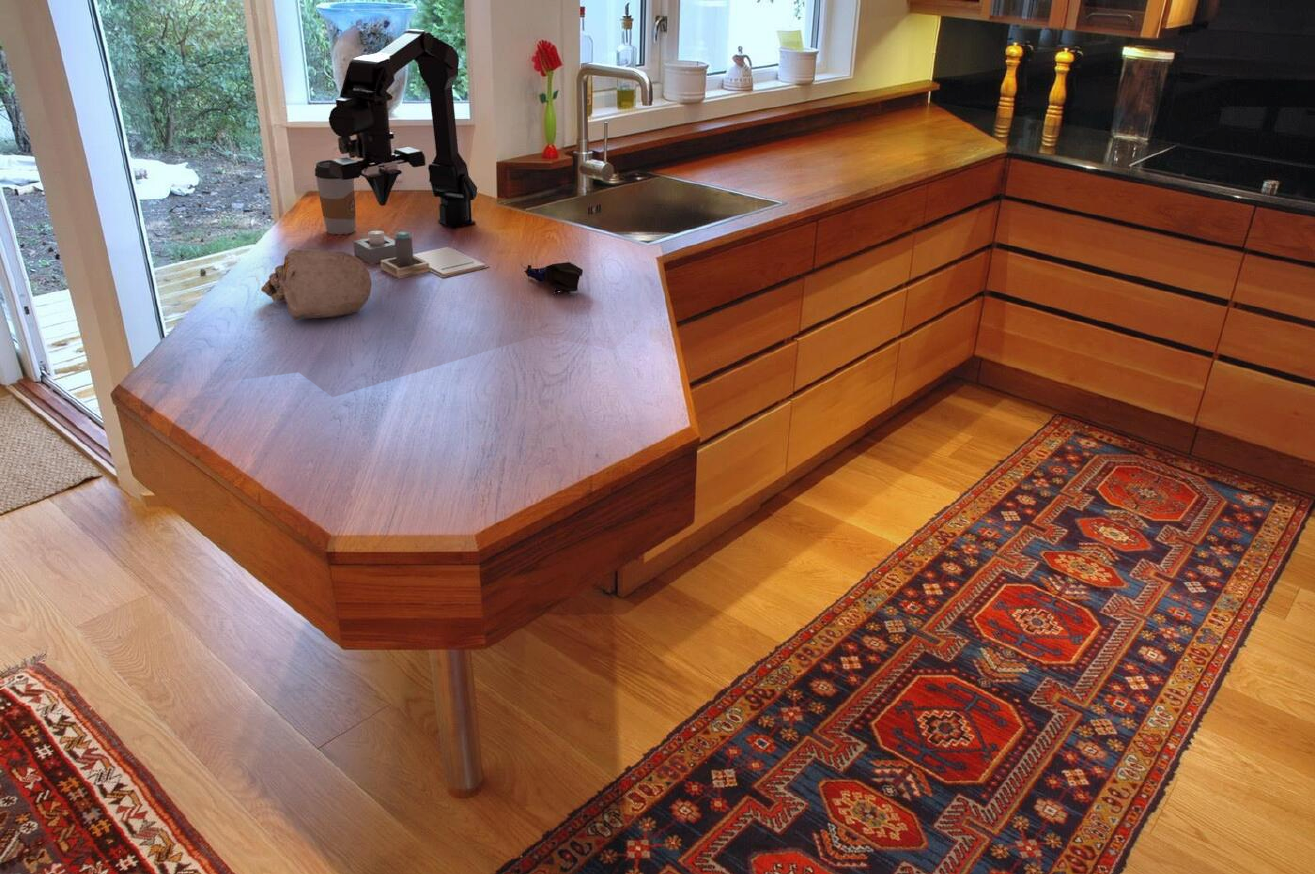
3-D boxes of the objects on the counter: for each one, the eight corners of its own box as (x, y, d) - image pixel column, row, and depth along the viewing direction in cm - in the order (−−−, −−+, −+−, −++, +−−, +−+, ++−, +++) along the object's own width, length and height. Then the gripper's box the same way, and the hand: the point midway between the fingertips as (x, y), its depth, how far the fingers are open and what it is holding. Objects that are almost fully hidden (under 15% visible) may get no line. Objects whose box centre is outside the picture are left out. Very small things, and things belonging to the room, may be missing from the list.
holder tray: (411, 262, 209) (410, 254, 209) (429, 271, 205) (429, 263, 204) (381, 269, 205) (380, 260, 204) (399, 278, 201) (398, 269, 200)
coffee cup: (349, 238, 222) (342, 170, 214) (314, 234, 223) (306, 166, 216) (366, 227, 229) (360, 161, 221) (332, 223, 230) (325, 157, 223)
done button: (380, 243, 213) (379, 229, 212) (388, 247, 211) (386, 233, 210) (366, 246, 211) (365, 232, 210) (374, 250, 209) (372, 236, 208)
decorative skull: (254, 241, 185) (273, 252, 168) (351, 240, 193) (378, 251, 177) (259, 308, 188) (277, 326, 172) (354, 305, 197) (380, 322, 180)
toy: (553, 265, 207) (595, 266, 196) (549, 296, 208) (590, 298, 196) (515, 257, 201) (555, 257, 190) (511, 289, 202) (550, 291, 190)
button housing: (384, 248, 216) (383, 235, 215) (401, 257, 212) (400, 243, 210) (354, 254, 212) (353, 241, 211) (371, 263, 208) (370, 249, 206)
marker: (409, 263, 207) (406, 230, 204) (417, 268, 205) (414, 234, 201) (394, 266, 205) (391, 232, 202) (401, 271, 203) (398, 237, 199)
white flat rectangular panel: (449, 248, 218) (448, 245, 218) (489, 267, 209) (489, 264, 208) (403, 258, 211) (403, 255, 211) (442, 278, 202) (442, 275, 201)
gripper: (394, 113, 207) (400, 188, 215) (310, 125, 196) (320, 204, 204) (424, 123, 201) (430, 200, 208) (339, 136, 189) (348, 217, 197)
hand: (382, 205), depth 205 cm, fingers closed
